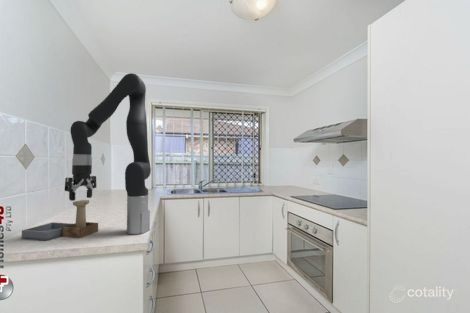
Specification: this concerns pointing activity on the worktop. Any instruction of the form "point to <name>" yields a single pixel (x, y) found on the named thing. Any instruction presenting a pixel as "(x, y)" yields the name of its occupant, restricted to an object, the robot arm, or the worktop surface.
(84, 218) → the handle
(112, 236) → the worktop surface
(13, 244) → the worktop surface
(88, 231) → the brown wooden box
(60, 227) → the tray
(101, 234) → the worktop surface
